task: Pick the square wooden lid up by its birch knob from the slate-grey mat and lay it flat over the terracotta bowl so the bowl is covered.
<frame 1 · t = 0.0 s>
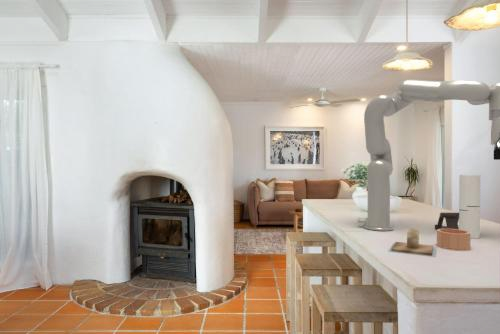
slate mat: (412, 250, 119), on the worktop
square wooden lid: (412, 249, 119), resting on slate mat
cylindrical container: (469, 237, 142), on the worktop
portable electronic device stand: (449, 231, 154), on the worktop
terracotta bowl: (453, 248, 123), on the worktop
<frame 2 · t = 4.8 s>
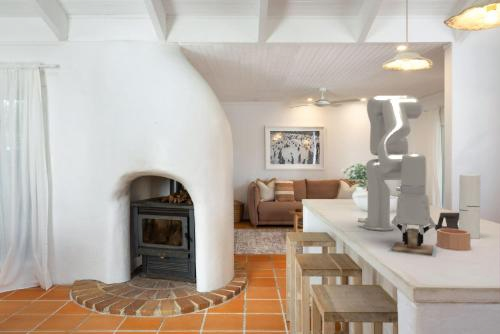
hand: (412, 244, 119), 2 cm above the worktop, tool pointing down, fingers closed on square wooden lid, 3 cm apart
square wooden lid: (412, 249, 119), resting on slate mat, touching gripper
everything else where it was.
when the fingers open (9 cm above the worktop, at t = 9.3 s): square wooden lid drops 1 cm, resting on terracotta bowl.
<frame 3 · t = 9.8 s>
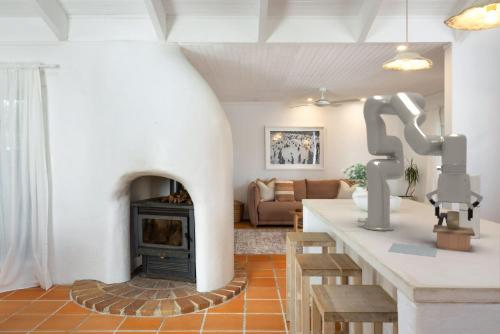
hand: (453, 219, 122), 10 cm above the worktop, tool pointing down, fingers open, 9 cm apart
square wooden lid: (453, 231, 122), point 6 cm above the worktop, touching terracotta bowl
everything else where it was.
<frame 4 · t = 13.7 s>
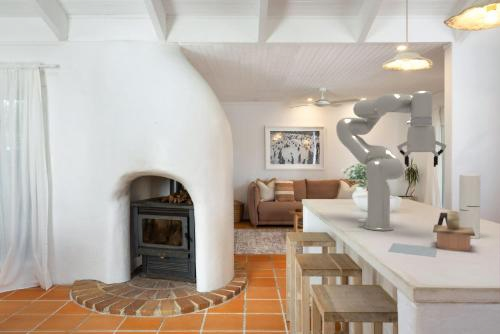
hand: (420, 166, 138), 28 cm above the worktop, tool pointing down, fingers open, 9 cm apart
nothing on the worktop moved.
at the end: square wooden lid 0.1 cm off-centre on the terracotta bowl, point 6.0 cm above the terracotta bowl's base; square wooden lid tilted 0°; the gripper is holding nothing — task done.
